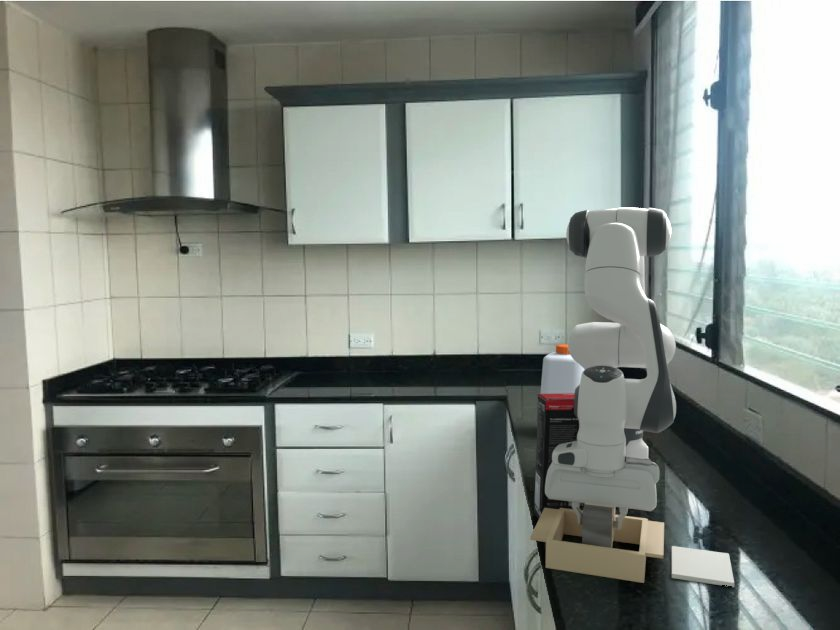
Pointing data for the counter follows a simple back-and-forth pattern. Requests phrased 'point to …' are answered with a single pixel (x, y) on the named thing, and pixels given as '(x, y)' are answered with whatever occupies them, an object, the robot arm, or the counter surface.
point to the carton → (598, 557)
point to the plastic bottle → (560, 372)
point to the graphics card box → (553, 443)
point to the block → (598, 525)
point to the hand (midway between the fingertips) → (599, 526)
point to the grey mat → (702, 566)
